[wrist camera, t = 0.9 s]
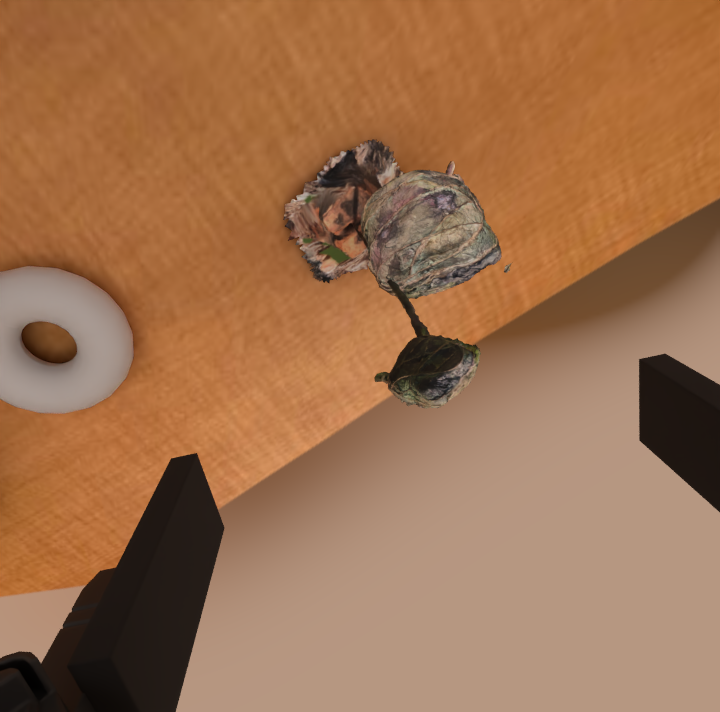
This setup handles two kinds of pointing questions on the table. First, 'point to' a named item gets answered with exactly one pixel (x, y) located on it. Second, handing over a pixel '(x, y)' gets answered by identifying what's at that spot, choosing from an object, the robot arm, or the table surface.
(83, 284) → the donut
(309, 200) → the stacked rock sculpture
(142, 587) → the robot arm
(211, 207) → the table surface
